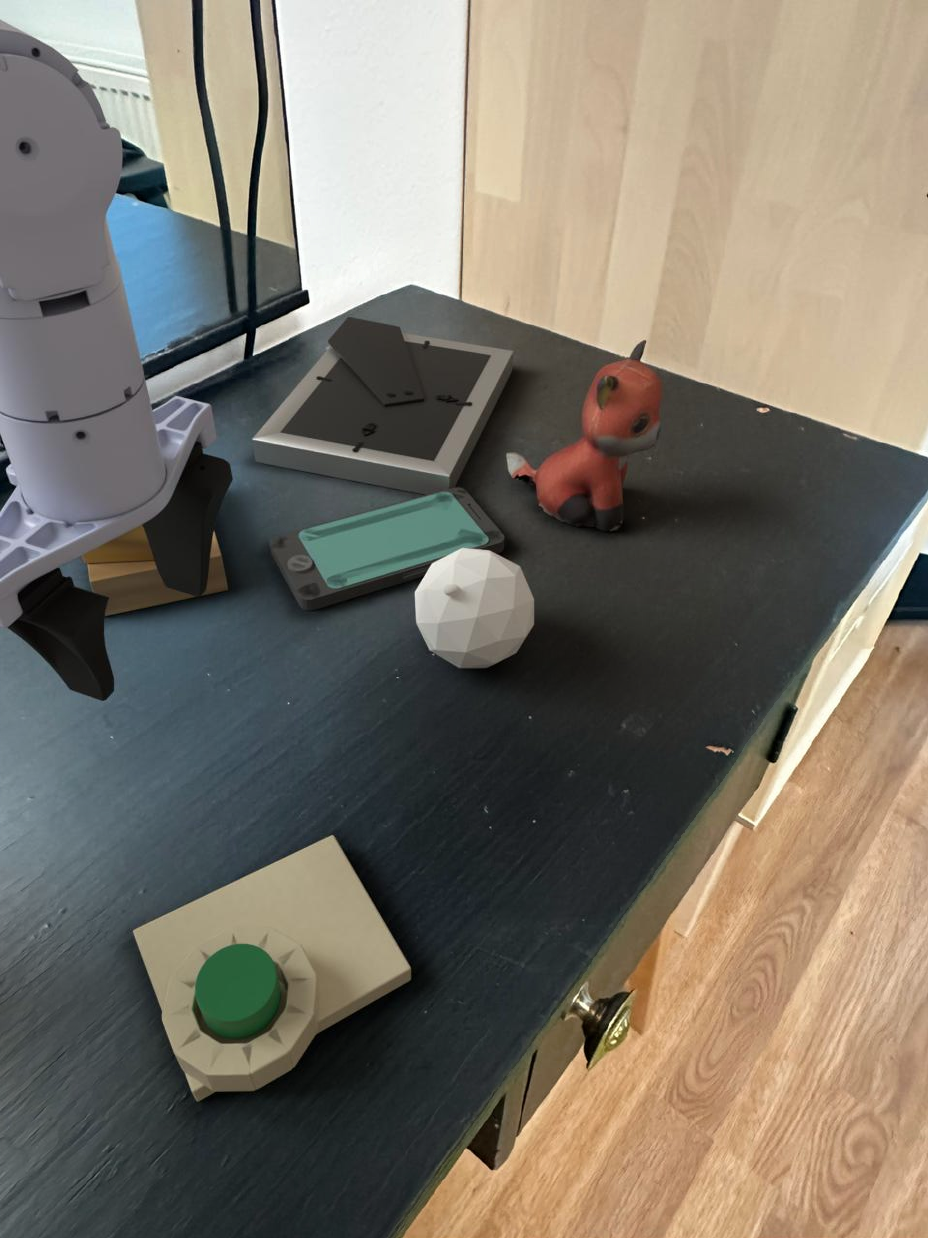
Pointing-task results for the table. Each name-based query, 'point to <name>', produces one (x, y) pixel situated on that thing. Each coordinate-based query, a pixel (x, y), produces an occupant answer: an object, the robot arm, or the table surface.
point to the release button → (238, 991)
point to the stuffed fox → (599, 447)
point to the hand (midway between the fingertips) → (141, 636)
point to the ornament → (474, 608)
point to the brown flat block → (146, 583)
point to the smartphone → (380, 546)
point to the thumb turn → (122, 548)
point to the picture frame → (387, 409)
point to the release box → (302, 953)
